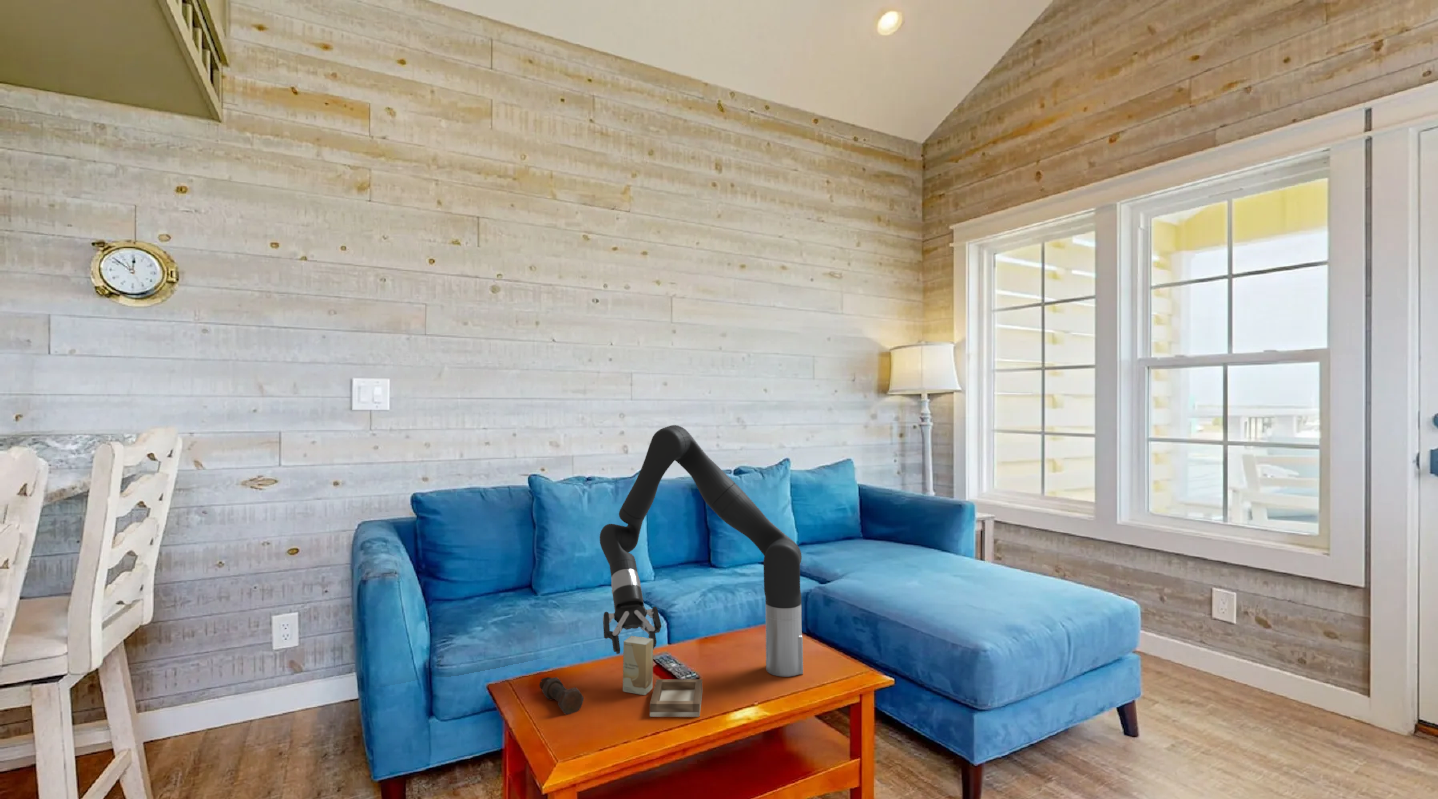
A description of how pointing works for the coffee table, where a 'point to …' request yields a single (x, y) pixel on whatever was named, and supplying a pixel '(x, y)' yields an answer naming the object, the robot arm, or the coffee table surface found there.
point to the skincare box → (638, 665)
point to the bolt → (562, 695)
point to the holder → (676, 698)
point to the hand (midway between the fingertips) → (635, 650)
